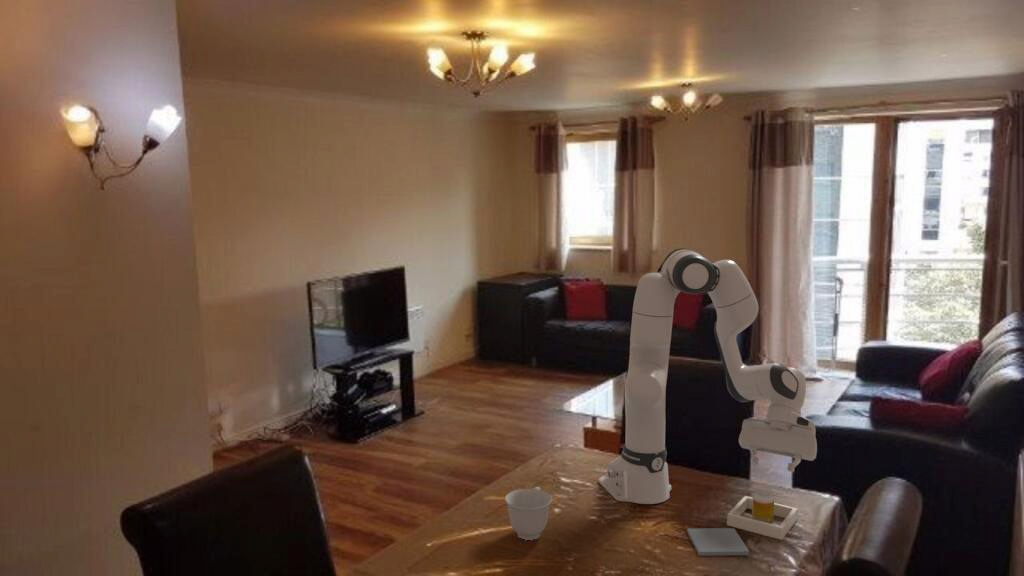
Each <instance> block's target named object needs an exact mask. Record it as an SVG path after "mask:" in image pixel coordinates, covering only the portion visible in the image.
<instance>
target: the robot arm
mask: <svg viewBox="0 0 1024 576" xmlns="http://www.w3.org/2000/svg"><path fill="white" fill-rule="evenodd" d="M753 290H754V289H753V288H752V287H751V284H750V282H749V281H748V278H747V276H746V274H745V273H744V272H743V271H742V268H740V267H739V265H738V264H737V263H736V262H735V261H734V260H731V259H721V260H717V261H715V262H712V261H710V260H709V259H708V258H706V257H704V256H703V255H702V254H700V253H699V252H697V251H695V250H691V249H690V248H685V247H684V248H677V249H675V250H673V251H671V252H670V253H669V254H667V256H666V257H665V259H664V260H663V262H662V263H661V264H660V266H659V267H658V269H657V272H649V273H646V274H644V275H642V276H641V277H640V279H639V280H638V283H637V287H636V290H635V294H634V299H633V305H632V315H631V323H630V325H631V327H630V337H629V342H630V343H629V361H628V369H627V375H626V377H625V379H624V412H625V443H621V444H620V447H619V449H622V451H621V455H619V456H618V457H615V458H614V459H613V460H611V461H609V463H608V464H607V467H606V474H603V475H602V476H600V477H599V478H598V483H599V484H600V485H601V486H602V487H603V488H604V489H605V490H606V491H607V492H608V493H609V494H610V495H611V497H613V498H614V499H615V500H616V501H618V502H630V503H635V504H640V505H655V504H660V503H663V502H665V501H667V500H669V499H670V497H671V496H670V491H671V490H672V485H671V483H670V482H669V481H670V480H669V468H668V463H667V462H666V461H667V455H668V454H667V453H668V452H667V447H666V393H667V392H666V391H667V388H666V387H667V382H668V381H667V380H668V372H669V371H668V370H669V360H670V359H669V358H670V351H671V350H670V349H671V341H672V329H673V319H674V307H675V301H676V298H677V296H678V295H679V294H680V293H681V292H683V293H685V294H688V295H698V294H702V293H703V294H704V293H707V295H708V296H709V297H710V299H711V301H712V304H713V307H714V309H715V312H716V321H715V322H714V325H713V332H714V336H715V337H714V338H715V341H716V344H717V349H718V352H719V356H720V359H721V363H722V366H723V370H724V375H725V380H726V382H725V383H726V388H727V391H728V393H729V394H730V395H731V397H732V398H733V399H734V400H736V401H737V402H739V403H747V402H748V403H749V402H753V401H758V400H759V401H761V400H769V401H770V404H769V406H768V408H767V412H766V417H765V419H764V418H757V417H756V418H755V417H753V416H752V417H750V416H749V418H745V419H743V421H742V423H741V424H742V425H741V431H740V433H739V437H738V443H739V445H740V447H741V448H742V449H743V450H744V449H745V450H749V451H750V454H751V461H750V462H751V465H754V466H758V465H759V461H760V459H759V457H758V456H756V454H757V452H762V453H767V454H773V455H777V456H778V455H779V456H784V457H789V458H793V459H794V460H793V462H791V463H790V462H788V463H787V469H786V470H787V472H791V473H795V468H797V466H798V465H799V464H800V463H801V461H802V460H805V461H810V462H811V461H812V462H813V461H815V459H817V453H818V443H817V442H818V441H817V438H816V432H817V431H816V430H817V429H816V427H815V422H814V421H813V420H811V419H808V418H806V417H805V416H802V412H801V409H802V408H803V405H804V404H805V403H804V402H805V398H806V389H807V381H806V377H805V375H804V373H803V372H802V371H800V370H799V369H797V368H795V367H791V366H786V365H784V364H783V363H780V362H773V363H763V364H757V365H749V366H748V365H746V364H744V362H743V360H742V356H741V353H740V350H739V347H738V342H737V337H738V335H739V334H740V333H741V332H743V331H744V330H746V329H747V328H748V327H750V326H751V325H752V324H753V323H754V322H755V320H756V318H757V317H758V315H759V311H760V310H759V309H760V307H759V302H758V299H757V297H756V295H755V293H754V291H753Z"/></svg>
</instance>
